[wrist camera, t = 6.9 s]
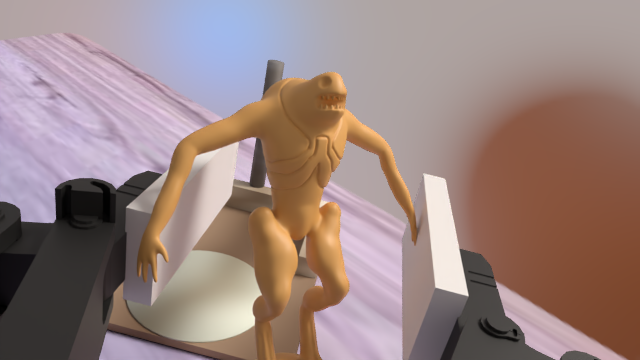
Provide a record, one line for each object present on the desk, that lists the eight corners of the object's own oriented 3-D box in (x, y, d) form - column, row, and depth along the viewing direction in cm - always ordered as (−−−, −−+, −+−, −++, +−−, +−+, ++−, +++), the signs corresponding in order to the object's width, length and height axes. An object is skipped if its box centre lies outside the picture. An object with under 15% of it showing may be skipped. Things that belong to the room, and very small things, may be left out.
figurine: (144, 605, 11) (213, 134, 6) (105, 399, 16) (128, 25, 11) (411, 480, 16) (575, 141, 11) (322, 345, 20) (409, 61, 15)
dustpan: (54, 315, 22) (45, 93, 18) (180, 188, 35) (192, 41, 30) (289, 378, 22) (339, 164, 17) (330, 225, 34) (365, 80, 30)
